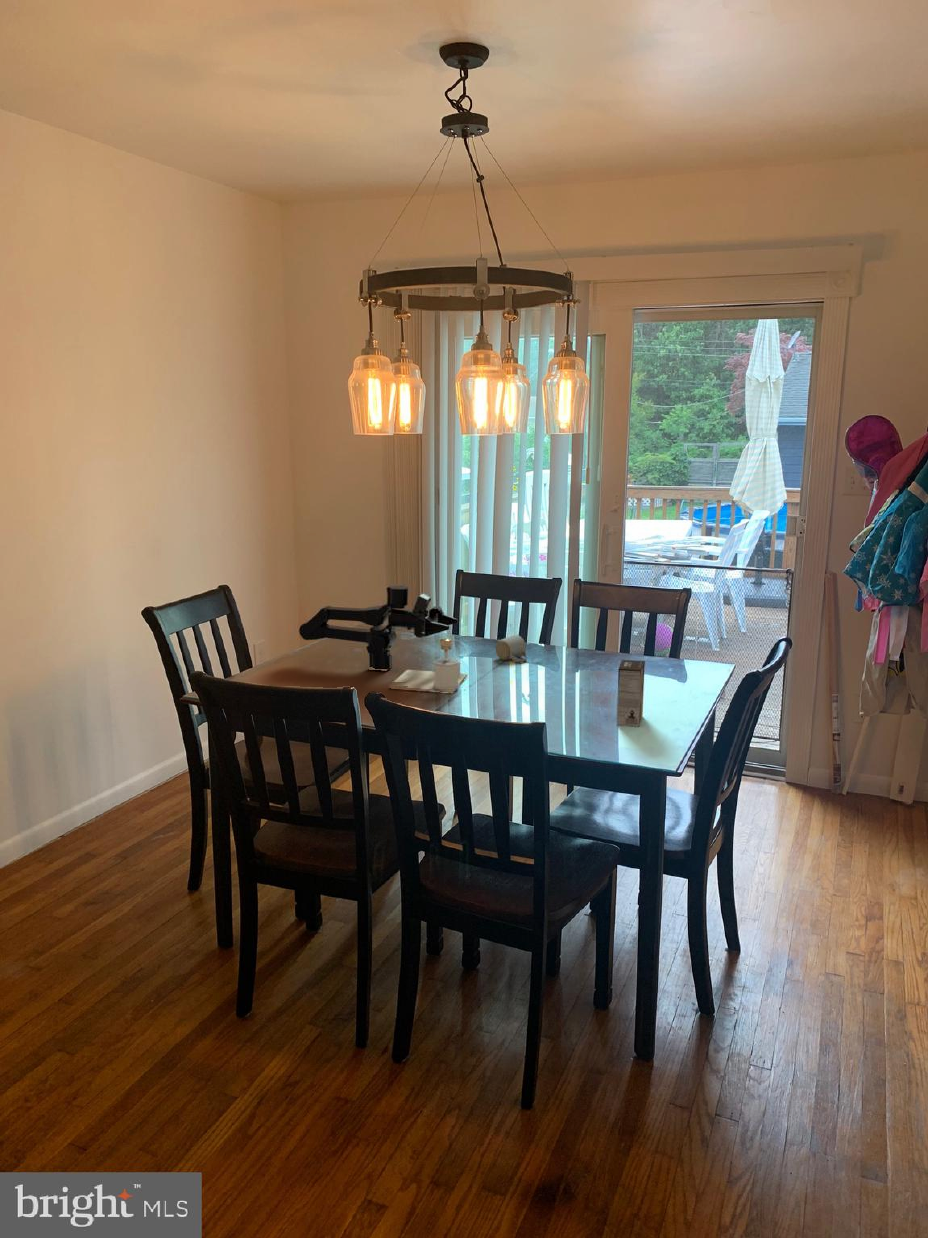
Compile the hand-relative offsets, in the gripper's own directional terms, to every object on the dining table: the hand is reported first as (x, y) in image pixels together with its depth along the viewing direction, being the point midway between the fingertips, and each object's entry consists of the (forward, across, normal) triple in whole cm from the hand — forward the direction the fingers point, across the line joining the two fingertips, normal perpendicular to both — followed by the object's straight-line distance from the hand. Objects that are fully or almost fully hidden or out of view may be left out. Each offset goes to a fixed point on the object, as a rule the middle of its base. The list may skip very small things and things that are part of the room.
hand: (453, 624), depth 282 cm
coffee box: (+60, -28, +14) cm, 67 cm away
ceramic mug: (+15, +23, +16) cm, 32 cm away
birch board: (-4, -10, +17) cm, 20 cm away
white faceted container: (+3, -14, +15) cm, 21 cm away
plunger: (+3, -15, +10) cm, 18 cm away
